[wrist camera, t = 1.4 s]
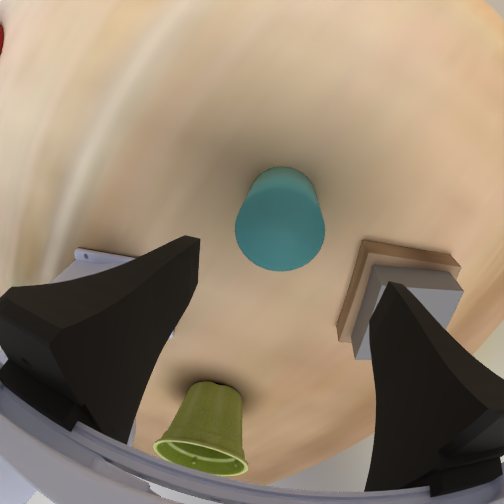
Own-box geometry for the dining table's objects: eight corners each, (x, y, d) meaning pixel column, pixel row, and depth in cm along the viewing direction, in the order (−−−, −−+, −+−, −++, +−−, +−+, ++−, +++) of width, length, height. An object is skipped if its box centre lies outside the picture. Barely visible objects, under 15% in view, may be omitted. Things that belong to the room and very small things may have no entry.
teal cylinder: (246, 225, 20) (232, 264, 15) (252, 162, 18) (238, 182, 13) (310, 234, 20) (315, 276, 15) (320, 172, 18) (332, 195, 13)
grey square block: (350, 336, 21) (354, 359, 19) (372, 264, 18) (381, 285, 16) (420, 338, 21) (429, 359, 18) (449, 272, 18) (463, 291, 15)
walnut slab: (335, 321, 24) (338, 341, 22) (360, 236, 20) (368, 252, 18) (414, 327, 23) (422, 346, 21) (447, 251, 20) (461, 267, 17)
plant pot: (273, 406, 30) (266, 473, 22) (212, 421, 33) (198, 477, 25) (221, 360, 27) (201, 436, 19) (160, 381, 30) (135, 442, 23)
